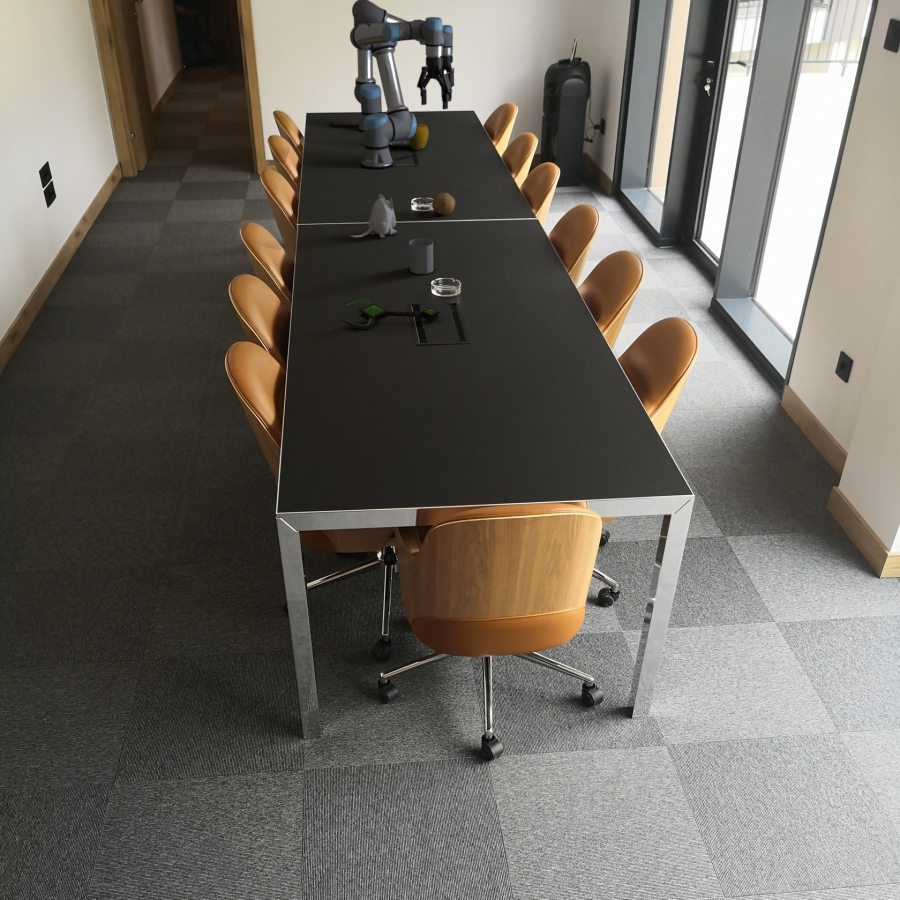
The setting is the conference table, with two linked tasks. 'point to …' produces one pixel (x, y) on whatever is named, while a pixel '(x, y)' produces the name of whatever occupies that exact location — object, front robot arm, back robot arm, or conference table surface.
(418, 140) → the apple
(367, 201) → the conference table surface
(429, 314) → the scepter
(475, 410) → the conference table surface
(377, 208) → the toy
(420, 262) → the cup
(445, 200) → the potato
